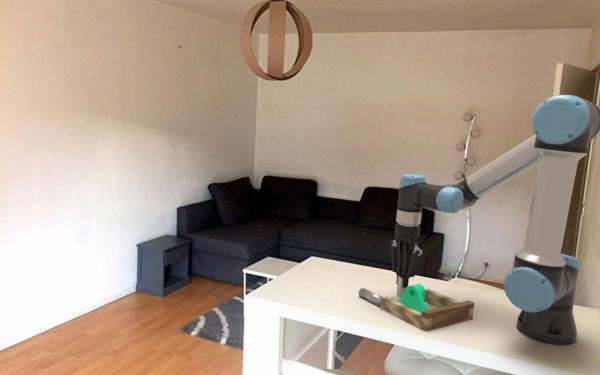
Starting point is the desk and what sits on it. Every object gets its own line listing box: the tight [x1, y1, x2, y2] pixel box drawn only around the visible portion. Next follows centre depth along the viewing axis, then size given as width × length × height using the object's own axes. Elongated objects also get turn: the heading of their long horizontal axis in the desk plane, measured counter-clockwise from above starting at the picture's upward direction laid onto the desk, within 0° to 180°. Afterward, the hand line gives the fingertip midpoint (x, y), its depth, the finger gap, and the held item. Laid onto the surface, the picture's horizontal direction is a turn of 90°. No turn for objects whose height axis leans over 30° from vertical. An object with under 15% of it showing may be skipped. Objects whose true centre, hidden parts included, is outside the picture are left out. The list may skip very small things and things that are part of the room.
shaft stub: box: [358, 287, 383, 308], centre depth 152 cm, size 10×3×3 cm
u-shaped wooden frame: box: [380, 288, 475, 332], centre depth 144 cm, size 18×20×5 cm
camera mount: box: [397, 283, 432, 313], centre depth 140 cm, size 12×8×10 cm, turn 33°
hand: (401, 296), depth 153 cm, fingers closed
